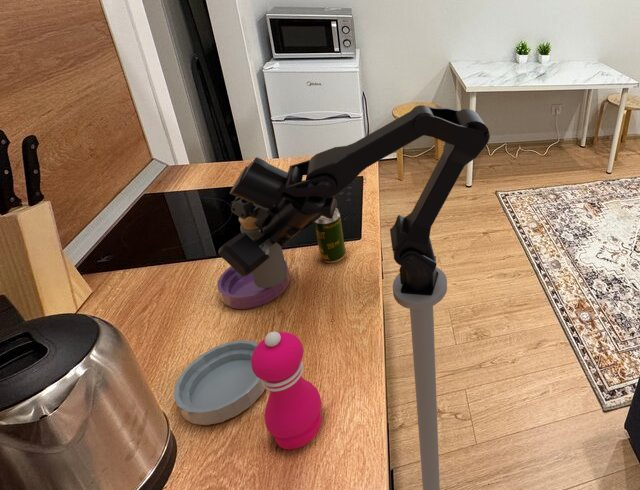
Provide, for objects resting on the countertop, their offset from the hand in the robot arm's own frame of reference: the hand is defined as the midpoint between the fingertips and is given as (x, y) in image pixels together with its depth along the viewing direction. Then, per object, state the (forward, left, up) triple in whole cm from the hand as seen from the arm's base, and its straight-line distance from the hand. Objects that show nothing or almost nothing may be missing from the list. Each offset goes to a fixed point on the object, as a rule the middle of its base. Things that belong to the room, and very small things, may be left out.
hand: (257, 247), depth 79 cm
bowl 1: (+3, -1, -11) cm, 12 cm away
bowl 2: (-5, +20, -11) cm, 24 cm away
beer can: (-8, -12, -11) cm, 18 cm away
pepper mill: (-19, +25, -11) cm, 34 cm away
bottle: (-1, 0, -7) cm, 7 cm away
